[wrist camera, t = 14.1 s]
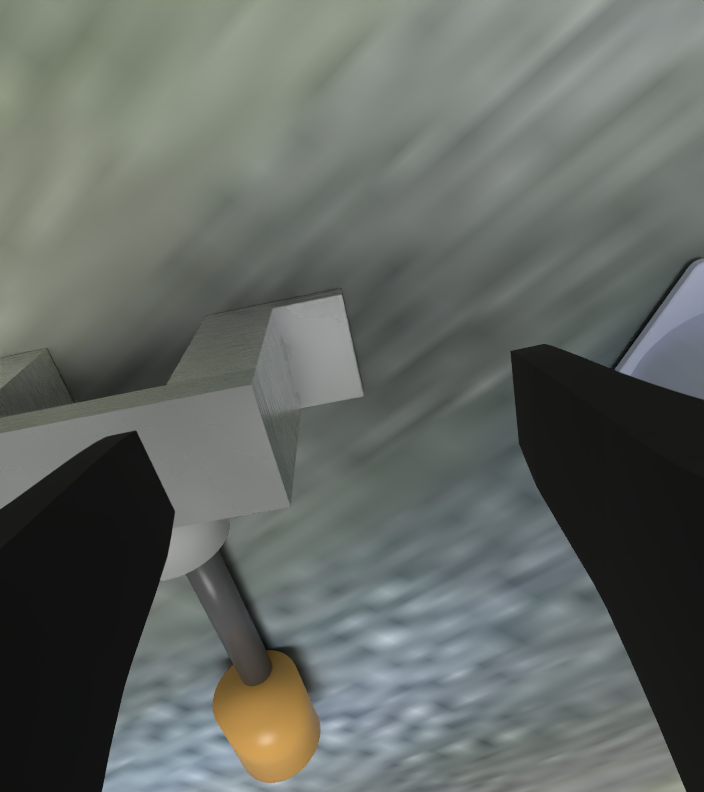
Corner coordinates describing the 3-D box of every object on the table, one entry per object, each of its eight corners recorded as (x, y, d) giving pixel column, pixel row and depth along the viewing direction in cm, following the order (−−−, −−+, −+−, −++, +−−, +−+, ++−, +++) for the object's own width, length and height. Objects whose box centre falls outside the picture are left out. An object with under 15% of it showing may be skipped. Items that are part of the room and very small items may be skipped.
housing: (-80, 374, 20) (-237, 479, 15) (341, 288, 19) (344, 366, 14) (-24, 461, 22) (-144, 584, 17) (362, 387, 21) (373, 492, 16)
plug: (110, 465, 22) (76, 536, 19) (211, 439, 22) (196, 505, 19) (243, 708, 30) (237, 792, 26) (318, 689, 30) (322, 770, 26)
